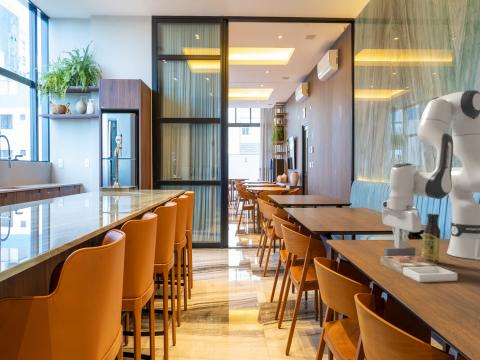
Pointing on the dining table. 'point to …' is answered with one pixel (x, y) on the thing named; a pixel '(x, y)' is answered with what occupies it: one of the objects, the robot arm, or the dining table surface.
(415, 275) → the tray
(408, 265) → the birch board
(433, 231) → the sauce bottle
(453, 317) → the dining table surface
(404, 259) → the tile
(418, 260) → the tile
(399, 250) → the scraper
